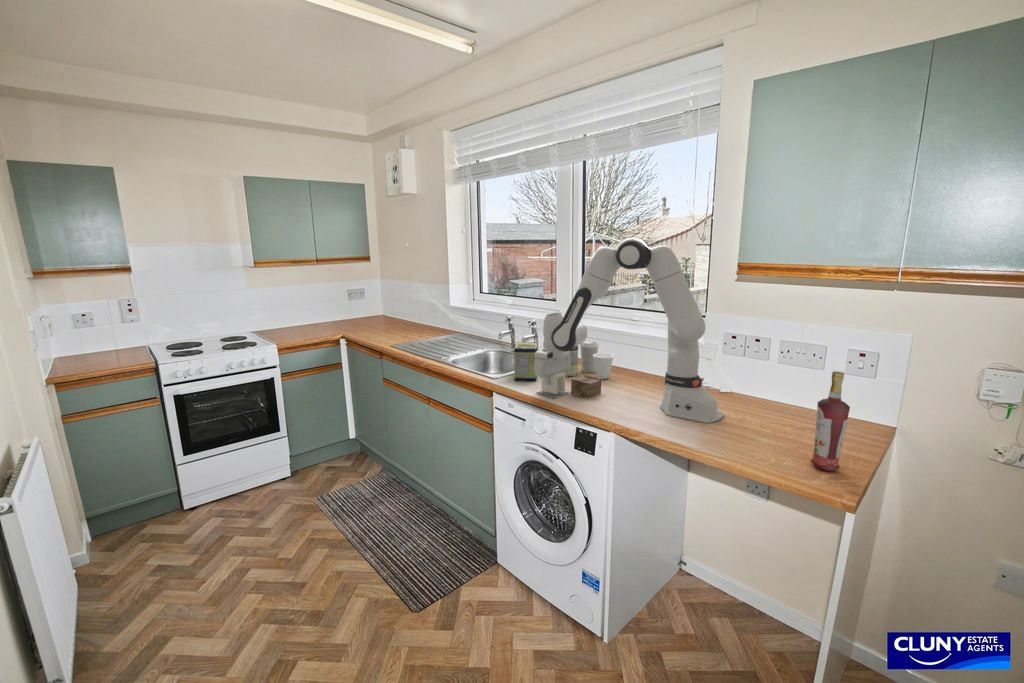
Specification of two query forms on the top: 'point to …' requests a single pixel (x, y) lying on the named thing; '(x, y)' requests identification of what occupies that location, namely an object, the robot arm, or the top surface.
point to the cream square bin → (554, 383)
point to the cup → (603, 364)
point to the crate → (586, 386)
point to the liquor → (830, 427)
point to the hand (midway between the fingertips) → (553, 382)
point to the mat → (553, 394)
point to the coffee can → (573, 362)
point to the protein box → (524, 361)
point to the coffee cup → (588, 355)
